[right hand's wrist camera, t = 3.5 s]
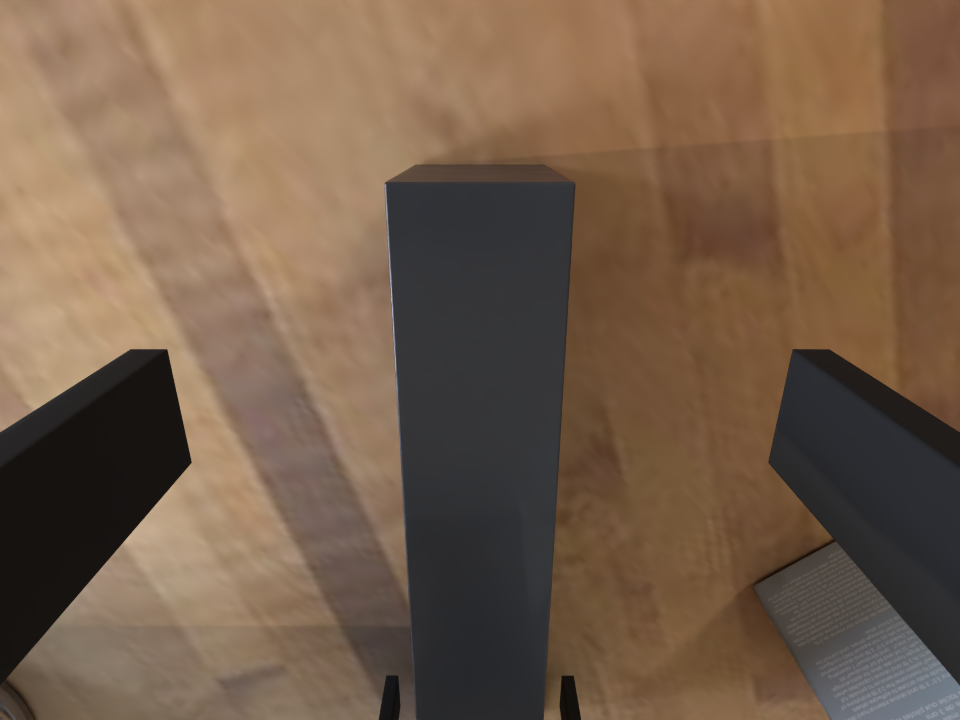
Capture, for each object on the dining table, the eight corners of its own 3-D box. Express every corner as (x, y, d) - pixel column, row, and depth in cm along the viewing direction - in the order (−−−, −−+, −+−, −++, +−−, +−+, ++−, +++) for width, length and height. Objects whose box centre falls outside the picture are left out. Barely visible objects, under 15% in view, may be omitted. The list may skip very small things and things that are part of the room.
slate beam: (436, 715, 40) (424, 871, 32) (414, 164, 26) (383, 181, 18) (523, 715, 40) (534, 871, 32) (545, 164, 26) (575, 181, 18)
